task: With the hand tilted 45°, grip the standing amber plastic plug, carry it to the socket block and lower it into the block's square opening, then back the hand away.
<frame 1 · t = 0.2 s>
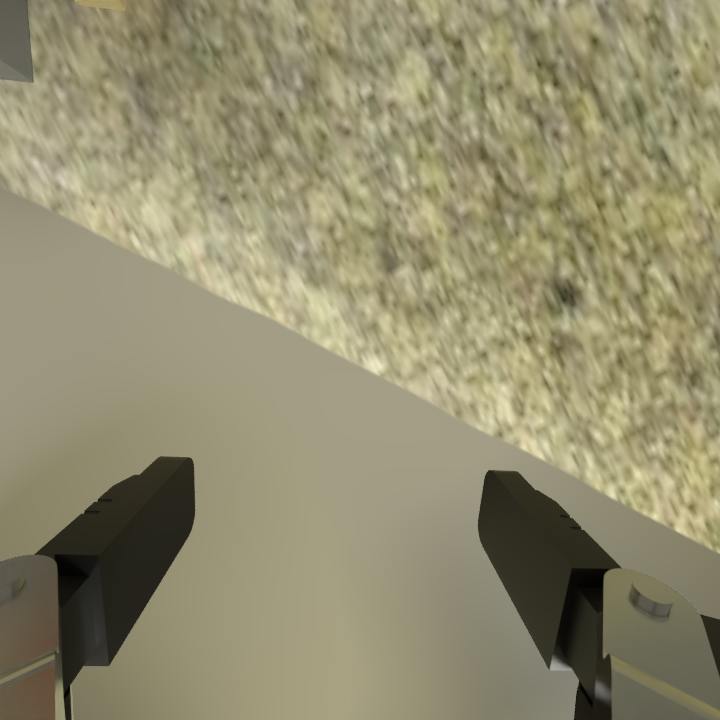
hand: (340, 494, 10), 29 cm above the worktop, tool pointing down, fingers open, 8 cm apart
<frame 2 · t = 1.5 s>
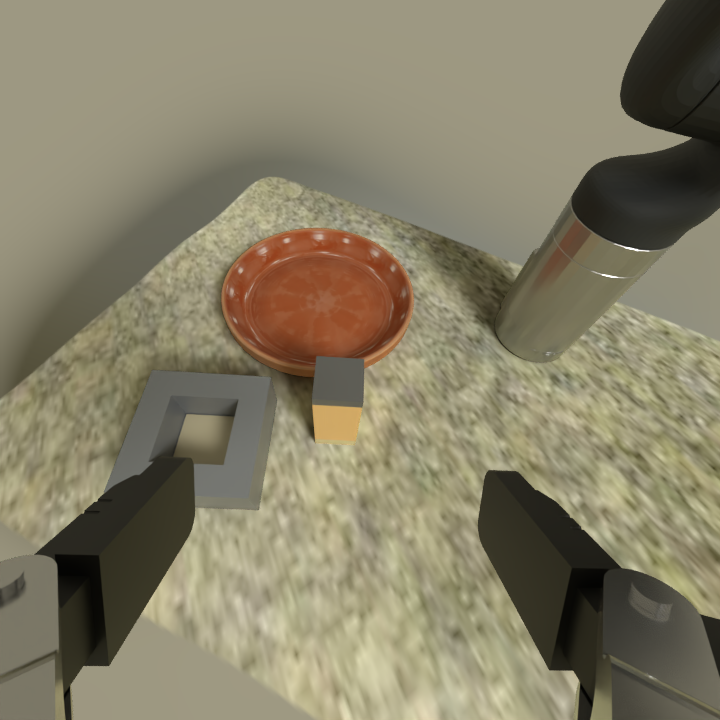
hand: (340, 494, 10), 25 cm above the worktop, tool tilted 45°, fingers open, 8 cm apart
plug: (336, 425, 37), on the worktop
socket block: (211, 447, 35), on the worktop
saucer: (320, 308, 46), on the worktop
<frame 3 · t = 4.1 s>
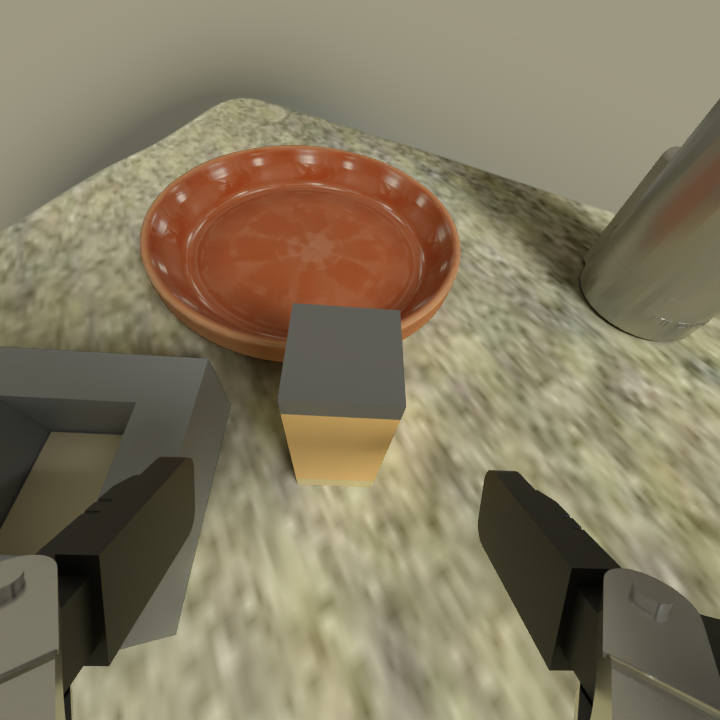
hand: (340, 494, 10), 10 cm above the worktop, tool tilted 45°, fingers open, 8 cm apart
plug: (336, 449, 21), on the worktop
socket block: (96, 496, 18), on the worktop
saucer: (310, 261, 29), on the worktop
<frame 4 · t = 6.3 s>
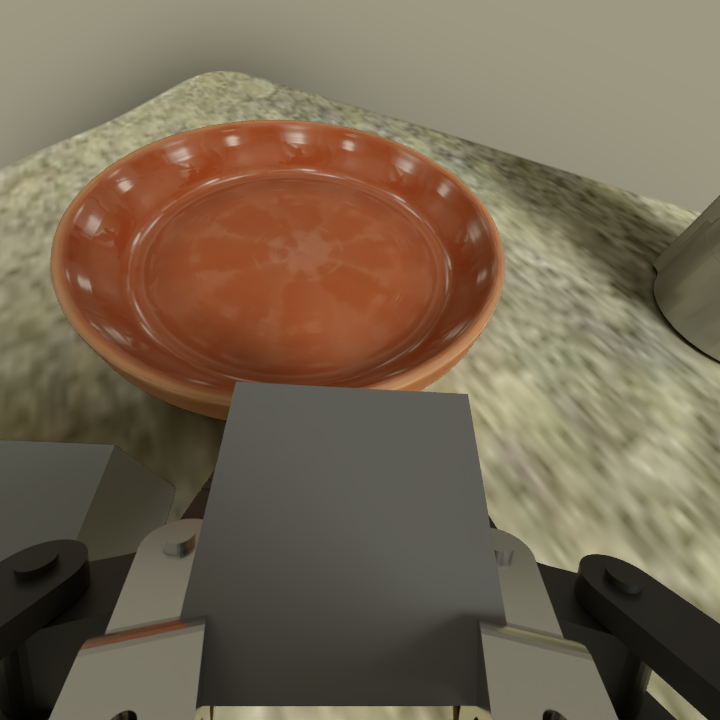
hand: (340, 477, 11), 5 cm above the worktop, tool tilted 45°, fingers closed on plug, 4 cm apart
plug: (334, 563, 13), on the worktop, touching gripper
saucer: (300, 269, 22), on the worktop
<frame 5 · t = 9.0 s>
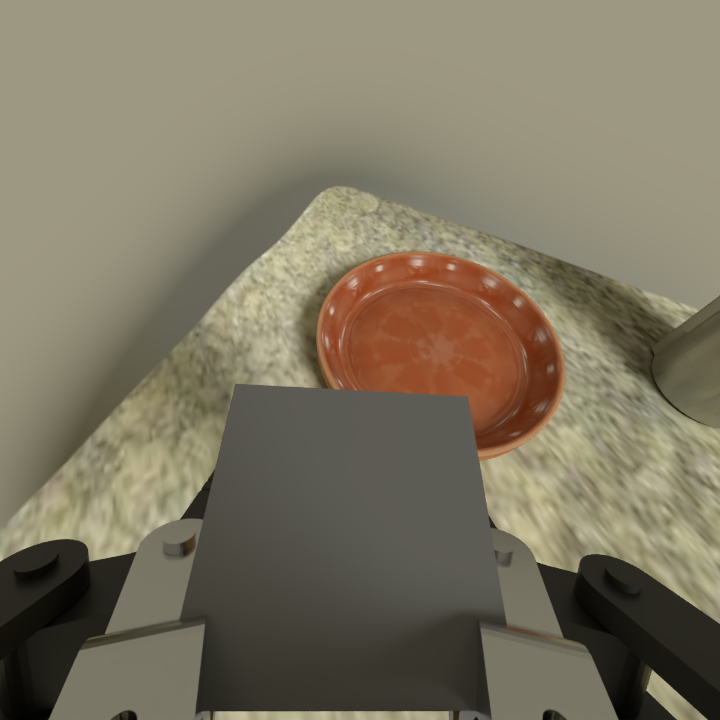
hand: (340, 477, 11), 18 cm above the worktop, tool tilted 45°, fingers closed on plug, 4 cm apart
plug: (334, 565, 13), point 13 cm above the worktop, touching gripper
saucer: (431, 356, 36), on the worktop
when the fingers open (7 cm above the worktop, at t = 11.8 s): plug drops 1 cm, resting on socket block.
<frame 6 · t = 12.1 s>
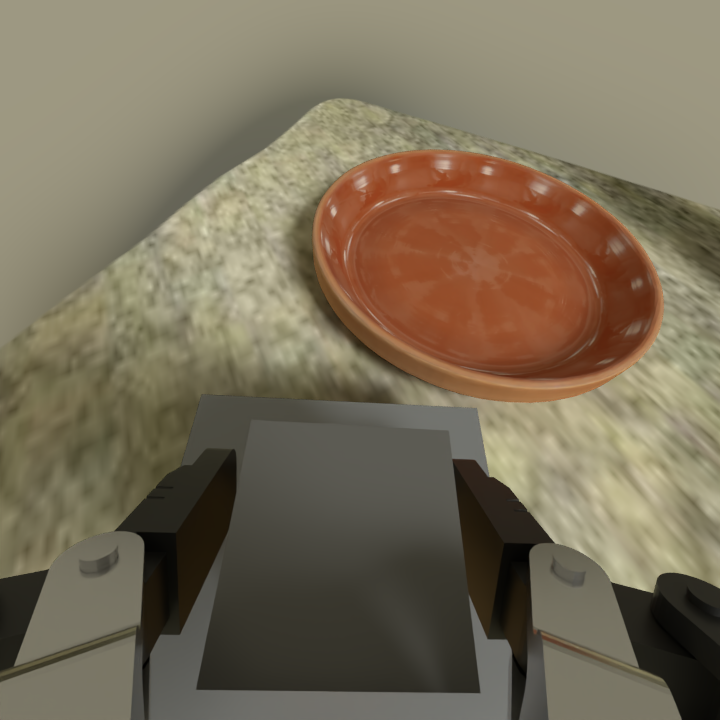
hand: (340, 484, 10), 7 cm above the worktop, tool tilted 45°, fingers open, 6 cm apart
plug: (334, 569, 14), point 1 cm above the worktop, touching socket block
socket block: (332, 568, 15), on the worktop
saucer: (466, 278, 27), on the worktop
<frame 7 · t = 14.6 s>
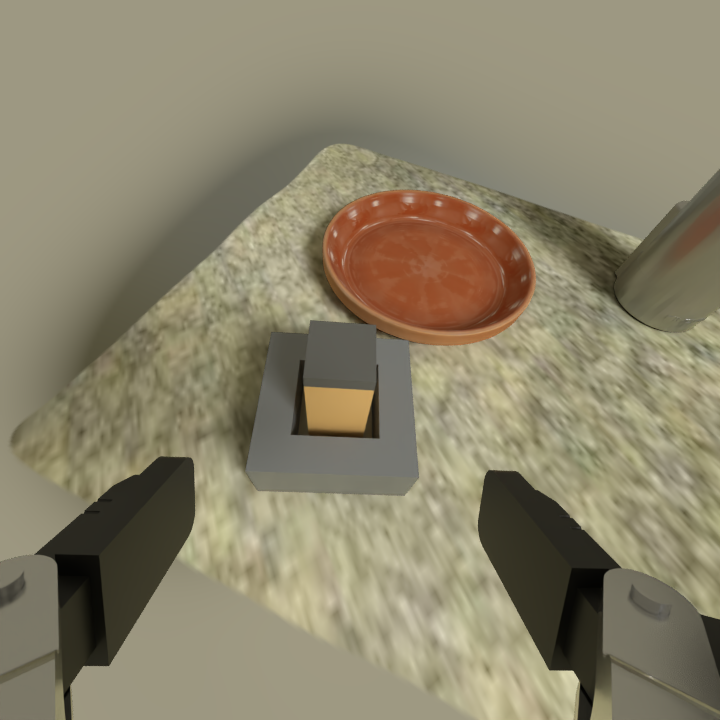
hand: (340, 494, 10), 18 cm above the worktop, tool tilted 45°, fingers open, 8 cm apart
plug: (336, 420, 29), point 1 cm above the worktop, touching socket block
socket block: (335, 424, 30), on the worktop
saucer: (421, 276, 41), on the worktop
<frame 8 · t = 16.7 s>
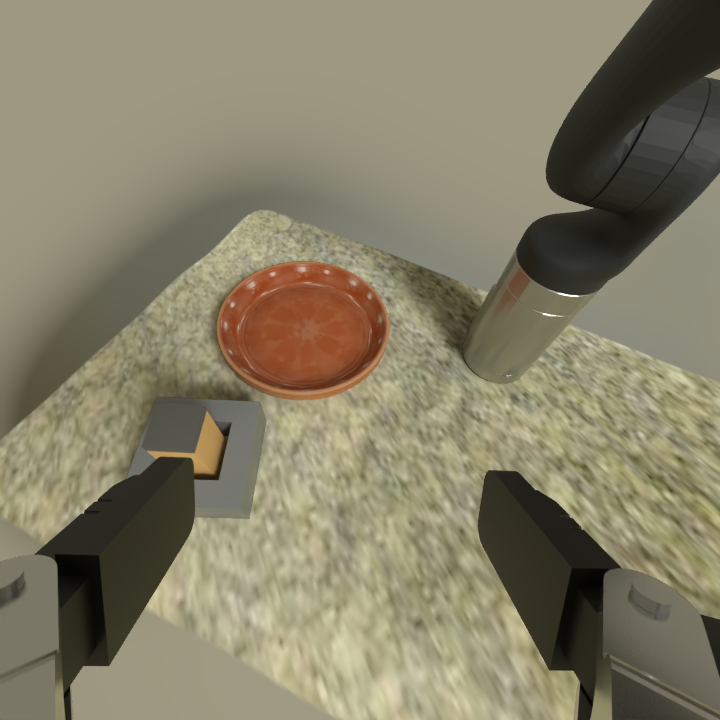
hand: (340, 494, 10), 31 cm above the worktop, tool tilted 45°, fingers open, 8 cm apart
plug: (206, 461, 39), point 1 cm above the worktop, touching socket block
socket block: (208, 463, 40), on the worktop
saucer: (306, 335, 51), on the worktop
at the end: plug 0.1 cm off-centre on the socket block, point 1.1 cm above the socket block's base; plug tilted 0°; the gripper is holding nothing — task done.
